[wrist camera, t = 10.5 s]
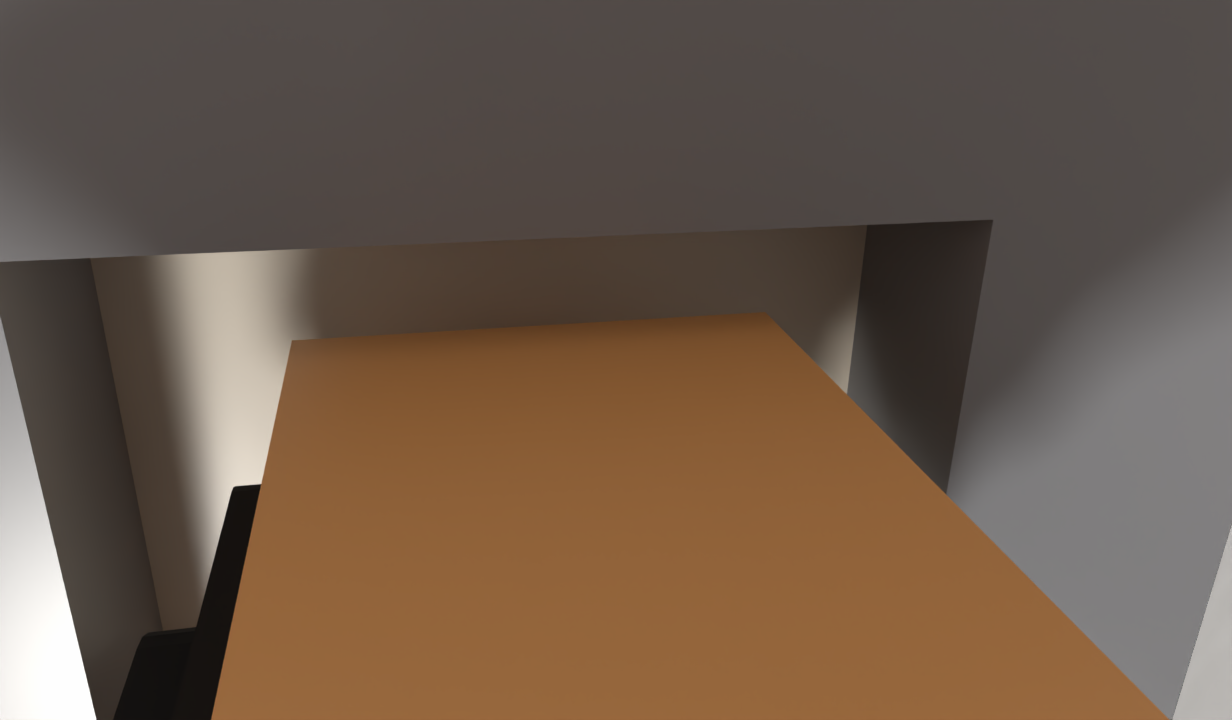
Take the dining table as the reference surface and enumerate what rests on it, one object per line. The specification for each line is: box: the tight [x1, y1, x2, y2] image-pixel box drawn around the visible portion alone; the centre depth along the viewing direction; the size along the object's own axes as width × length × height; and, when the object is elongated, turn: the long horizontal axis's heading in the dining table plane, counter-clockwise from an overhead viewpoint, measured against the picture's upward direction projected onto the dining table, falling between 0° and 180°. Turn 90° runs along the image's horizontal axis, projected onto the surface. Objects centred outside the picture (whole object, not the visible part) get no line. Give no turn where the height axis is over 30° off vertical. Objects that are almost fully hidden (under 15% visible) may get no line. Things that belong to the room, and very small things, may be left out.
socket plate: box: [0, 0, 1232, 720], centre depth 11 cm, size 16×16×3 cm
